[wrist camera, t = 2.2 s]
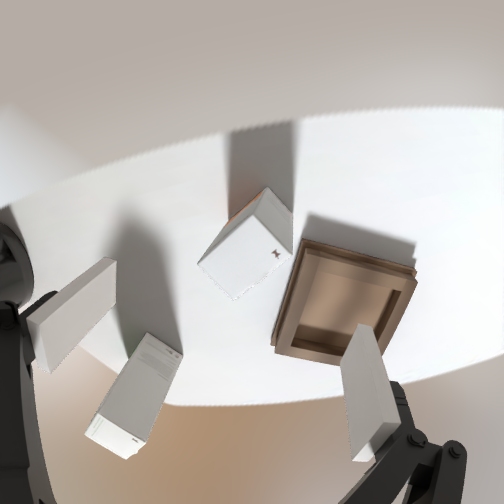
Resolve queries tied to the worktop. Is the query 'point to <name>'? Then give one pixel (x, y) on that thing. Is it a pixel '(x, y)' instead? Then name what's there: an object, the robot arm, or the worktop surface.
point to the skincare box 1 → (135, 398)
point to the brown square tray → (339, 302)
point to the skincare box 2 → (250, 245)
